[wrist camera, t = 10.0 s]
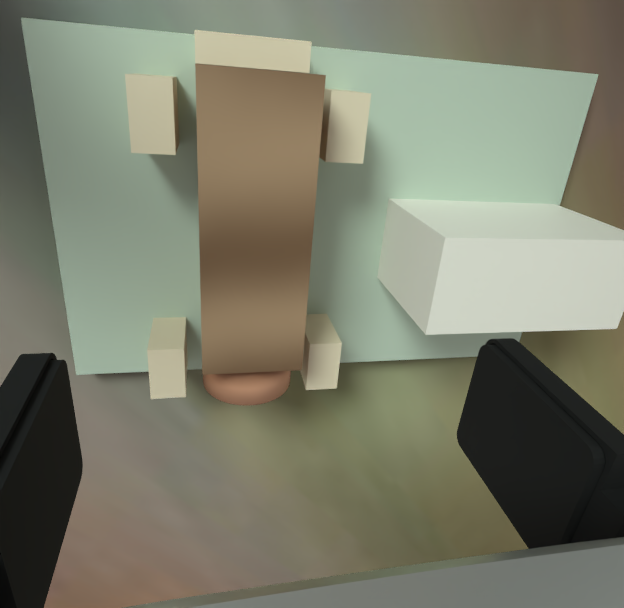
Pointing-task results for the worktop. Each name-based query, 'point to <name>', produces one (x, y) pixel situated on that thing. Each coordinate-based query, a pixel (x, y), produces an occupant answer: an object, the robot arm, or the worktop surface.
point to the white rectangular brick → (501, 267)
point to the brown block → (255, 225)
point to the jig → (329, 196)
